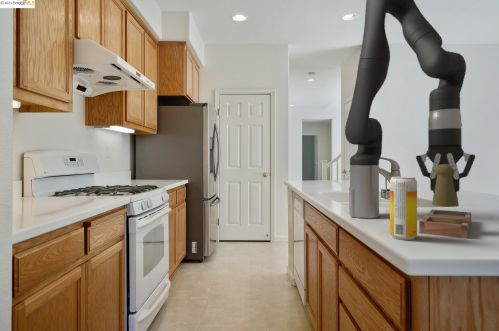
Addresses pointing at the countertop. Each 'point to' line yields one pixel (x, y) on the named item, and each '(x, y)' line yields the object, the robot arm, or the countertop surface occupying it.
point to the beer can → (403, 207)
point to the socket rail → (446, 223)
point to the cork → (445, 187)
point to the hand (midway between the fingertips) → (444, 192)
